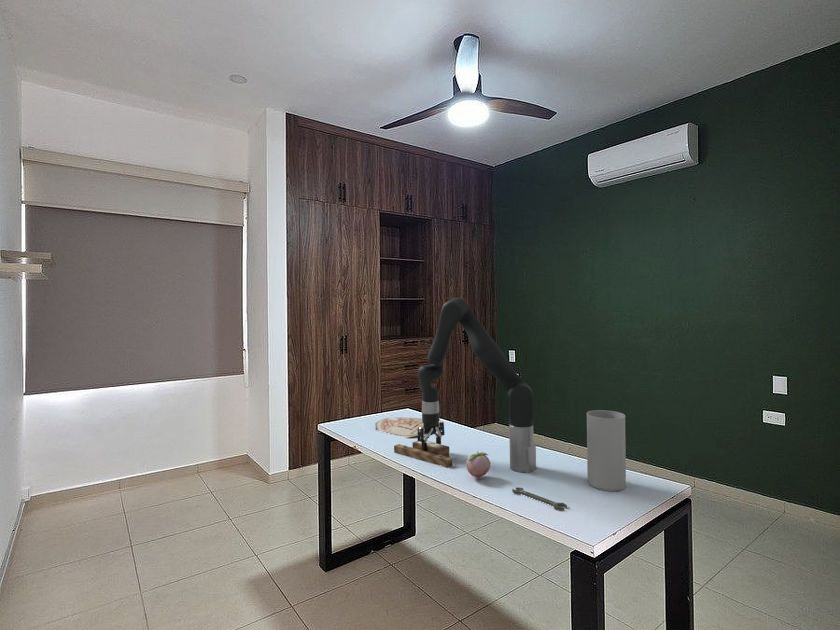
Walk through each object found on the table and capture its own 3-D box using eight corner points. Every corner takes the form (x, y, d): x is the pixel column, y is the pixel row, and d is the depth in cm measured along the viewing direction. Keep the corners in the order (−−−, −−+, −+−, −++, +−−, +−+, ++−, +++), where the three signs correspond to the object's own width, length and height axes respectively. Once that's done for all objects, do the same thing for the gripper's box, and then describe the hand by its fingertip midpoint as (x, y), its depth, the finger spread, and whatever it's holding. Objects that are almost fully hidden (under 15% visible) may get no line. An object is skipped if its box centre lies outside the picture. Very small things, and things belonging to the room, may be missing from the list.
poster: (369, 436, 235) (414, 444, 217) (367, 425, 234) (413, 431, 216) (402, 420, 257) (446, 426, 239) (401, 410, 257) (445, 415, 238)
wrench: (518, 489, 157) (518, 486, 157) (569, 508, 141) (569, 505, 141) (509, 493, 154) (509, 490, 154) (561, 513, 138) (561, 509, 138)
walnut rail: (452, 465, 180) (452, 456, 180) (448, 467, 178) (447, 458, 178) (398, 450, 200) (398, 442, 200) (394, 452, 198) (394, 444, 198)
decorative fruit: (477, 471, 173) (476, 446, 173) (494, 477, 167) (493, 450, 167) (460, 478, 167) (460, 451, 167) (477, 484, 161) (477, 456, 161)
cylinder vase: (582, 477, 165) (581, 410, 164) (617, 477, 165) (616, 410, 164) (594, 492, 152) (594, 419, 152) (632, 491, 152) (631, 418, 152)
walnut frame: (449, 458, 190) (449, 446, 190) (440, 462, 185) (439, 449, 185) (422, 450, 201) (421, 438, 201) (412, 453, 196) (412, 442, 196)
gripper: (435, 406, 201) (436, 442, 201) (412, 412, 191) (413, 450, 191) (448, 409, 195) (449, 446, 196) (425, 415, 186) (426, 454, 186)
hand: (431, 448), depth 194 cm, fingers open, 8 cm apart
